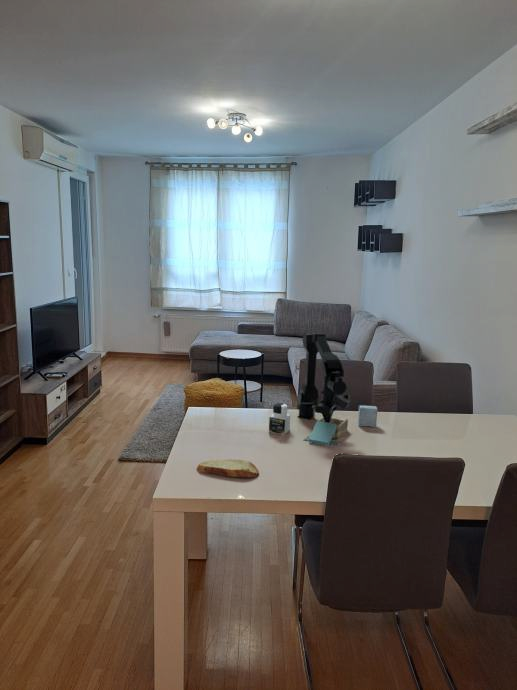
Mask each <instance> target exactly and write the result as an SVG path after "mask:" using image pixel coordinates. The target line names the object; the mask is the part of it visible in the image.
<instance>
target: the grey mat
mask: <svg viewBox="0 0 517 690" xmlns="http://www.w3.org/2000/svg"><path fill="white" fill-rule="evenodd" d="M309 438H310V436H309V435H308V436H307V437H305V438H304V439H303V441H304V440H308V441H307V442H309ZM339 443H340V444H341V442H340V441H337V440H331V442H330V445H333V446H332V447H335V446H337V445H338V444H339ZM340 444H339V445H340ZM330 445H329V446H330ZM339 445H338V446H339ZM338 446H337V447H338Z"/></svg>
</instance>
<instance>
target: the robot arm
mask: <svg viewBox="0 0 517 690" xmlns="http://www.w3.org/2000/svg"><path fill="white" fill-rule="evenodd" d="M302 346H303V348H304V351H305V353H306V355H305V370H304V371H305V372H304V383H303V384H302V386H301V387H300V391H299V394H298V396H297V397H296V403H297V405H299V408H298V409H299V411H298V415H297V418H299V419H305V420H312V419H313V418H314V417H315V416H316V413H317V414H321V415H322V418H324V420H325V422H327V423H330V421H331V418H333V415H334V412H335V411H336V410H338V407H340V408H341V409H343V410H346V409H347V408H348V407H349V404H350V403H351V398H350V395H349V394H347V393H346V394H344V393H345V392H346V390H347V388H348V387H347V384H346V382H345V381H344V380H343V377H345V375H344V374H345V371H344V367H343V364H342V361H341V359H340V358H339V357H338V356H337V355H336V354H334V353H333V352H332V350H331V347H330V345H329V343H328V341H327V338H326V334H325V333H322V332H320V333H319V332H317V333H306V334H304V336H302ZM318 353H319V355H320V358H321V363H320V366H321V370H322V376H323V379H322V380H323V381H322V382H323V383H322V390H321V391H320V392H321V395H322V397H321V398H322V399H321V400H320V403H318V402H319V398H320V395H319V390H318V388H317V387H316V371H317V369H316V368H317V358H318V357H317V354H318ZM343 394H344V395H343ZM335 405H336V406H335ZM337 406H338V407H337Z"/></svg>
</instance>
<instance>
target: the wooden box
mask: <svg viewBox="0 0 517 690" xmlns="http://www.w3.org/2000/svg"><path fill="white" fill-rule="evenodd" d="M319 421H321V422H325V420H324V418H323V417H322V418H321V419H319ZM348 422H349V419H348V418H346V419H344V418H343V419H342V418H338V417H332V418H331V421H330V423H333V424H336V425H337V428H336V431H335V433H334V435H333V439H332V440H336V439H338V440H339V439H340V438H341V437H342V436H343V435H344V434H345V433H346V432H347V431H348ZM315 425H316V423H315V424H314V426H315Z"/></svg>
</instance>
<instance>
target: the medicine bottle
mask: <svg viewBox="0 0 517 690" xmlns="http://www.w3.org/2000/svg"><path fill="white" fill-rule="evenodd" d="M288 409H289V408H288V405H287V404H285V403H283V402H282V403H281V402H280V403H279V402H278V403H274V404H273V410H272V411H273V412H272V414H271V415H270V416H269V419H268V420H269V421H268V433H271V434H277V435H286V434H287V433H288V432H289V431H290V430H291V429H290V427H291V414H289V413H288Z"/></svg>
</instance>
